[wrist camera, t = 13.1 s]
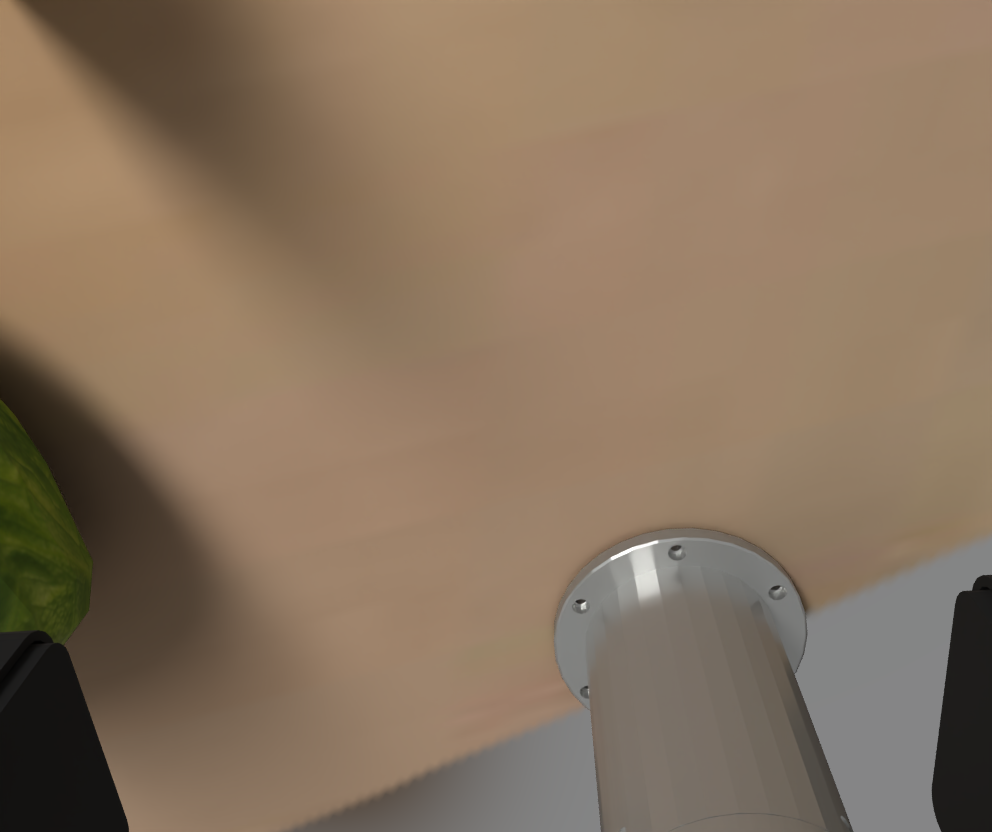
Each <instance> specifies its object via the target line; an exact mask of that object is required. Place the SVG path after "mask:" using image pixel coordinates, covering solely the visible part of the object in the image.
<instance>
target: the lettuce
mask: <svg viewBox="0 0 992 832" xmlns="http://www.w3.org/2000/svg"><path fill="white" fill-rule="evenodd" d="M92 568H93V561H92V558H91V556H90V554H89V552H88V550H87V548H86V546H85V544H84V542H83V539H82V537H81V535H80V533H79V531H78V529H77V527H76V525H75V523H74V521H73V518H72V516H71V514H70V512H69V510H68V508H67V506H66V504H65V501H64V499H63V497H62V495H61V493H60V491H59V489H58V486H57V484H56V482H55V480H54V478H53V476H52V474H51V472H50V469H49V467H48V465H47V463H46V461H45V460H44V458H43V457H42V455H41V454H40V452H39V451H38V449H37V448H36V446H35V445H34V443H33V442H32V440H31V439H30V437H29V436H28V434H27V433H26V431H25V430H24V428H23V427H22V425H21V424H20V422H19V421H18V419H17V418H16V416H15V415H14V414H13V413H12V411H11V410H10V409H9V408H8V407H7V406H6V405H5V404H4V403H3V401H2V400H1V399H0V632H14V631H31V630H40V631H44V632H46V633H47V634H48V635H49V636H50V637H51V638H52V640H53V642H54V643H60V644H62V645H63V646H64V644H65V643H66V641H67V640H68V639H69V637H70V636H71V635H72V633H73V632H74V630H75V629H76V628H77V626H78V625H79V624H80V622H81V621H82V619H83V618H84V617H85V615H86V614H87V612H88V611H89V604H90V592H91V580H92Z"/></svg>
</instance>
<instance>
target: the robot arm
mask: <svg viewBox="0 0 992 832" xmlns="http://www.w3.org/2000/svg"><path fill="white" fill-rule="evenodd" d="M806 639H807V624H806V614H805V611H804V608H803V605H802V602H801V599H800V596H799V594H798V592H797V590H796V588H795V586H794V584H793V582H792V580H791V578H790V577H789V576H788V574H787V573H786V572H785V571H784V569H783V568H782V567H781V566H780V564H779V563H778V562H777V561H776V560H774V559H773V558H772V557H771V556H769V555H768V554H767V553H766V552H764V551H763V550H762V549H760V548H759V547H757V546H755V545H753V544H751V543H749V542H747V541H745V540H743V539H741V538H738V537H735V536H732V535H728V534H725V533H722V532H719V531H712V530H704V529H696V528H682V529H665V530H660V531H655V532H650V533H645V534H642V535H639V536H636V537H633V538H631V539H628V540H625V541H623V542H620V543H618V544H617V545H615V546H613V547H611V548H610V549H608V550H606V551H604V552H603V553H601V554H599V555H598V556H597V557H596V558H594V559H593V560H592V561H591V562H590V563H588V564H587V565H586V566H585V567H584V568H582V570H581V571H580V572H579V573H578V574H577V576H576V577H575V578H574V579H573V581H572V582H571V583H570V584H569V585H568V587H567V589H566V591H565V593H564V595H563V597H562V599H561V601H560V603H559V606H558V610H557V614H556V617H555V621H554V647H555V657H556V662H557V665H558V668H559V671H560V674H561V676H562V679H563V680H564V682H565V683H566V685H567V686H568V688H569V690H570V691H571V693H572V694H573V695H574V696H575V697H576V698H577V699H578V700H579V701H580V702H581V703H582V704H583V705H584V706H585V707H586V708H587V709H588V710H590V712H591V723H592V735H593V746H594V757H595V768H596V780H597V791H598V802H599V814H600V825H601V832H853V830H852V827H851V825H850V822H849V819H848V817H847V814H846V811H845V808H844V806H843V803H842V800H841V798H840V795H839V792H838V790H837V787H836V784H835V782H834V779H833V776H832V774H831V771H830V768H829V766H828V763H827V760H826V758H825V755H824V753H823V750H822V747H821V744H820V742H819V739H818V737H817V734H816V731H815V728H814V726H813V723H812V720H811V718H810V715H809V712H808V710H807V707H806V704H805V702H804V699H803V696H802V694H801V691H800V689H799V686H798V683H797V680H796V678H795V675H794V674H795V673H796V671H797V669H798V667H799V664H800V662H801V660H802V657H803V655H804V651H805V645H806ZM932 801H933V807H934V812H935V816H936V819H937V822H938V824H939V827H940V829H941V832H992V575H983V576H980V577H978V578H977V579H976V581H975V583H974V585H973V589H972V591H962V592H960V593H959V595H958V596H957V599H956V603H955V610H954V618H953V626H952V633H951V642H950V649H949V657H948V665H947V673H946V681H945V688H944V696H943V705H942V713H941V720H940V728H939V736H938V743H937V751H936V760H935V767H934V775H933V783H932ZM0 832H129V826H128V822H127V819H126V816H125V813H124V810H123V807H122V804H121V801H120V799H119V796H118V793H117V790H116V787H115V784H114V781H113V779H112V776H111V773H110V770H109V767H108V764H107V761H106V759H105V756H104V753H103V750H102V747H101V744H100V741H99V739H98V736H97V733H96V730H95V727H94V724H93V721H92V719H91V716H90V713H89V710H88V707H87V704H86V701H85V699H84V696H83V693H82V690H81V687H80V684H79V681H78V679H77V676H76V673H75V670H74V667H73V664H72V661H71V659H70V656H69V653H68V651H67V649H66V647H64V646H63V645H62V644H60V643H54V642H53V640H52V638H51V637H50V636H49V635H48V634H47V633H46V632H44V631H40V630H31V631H14V632H0Z"/></svg>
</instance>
